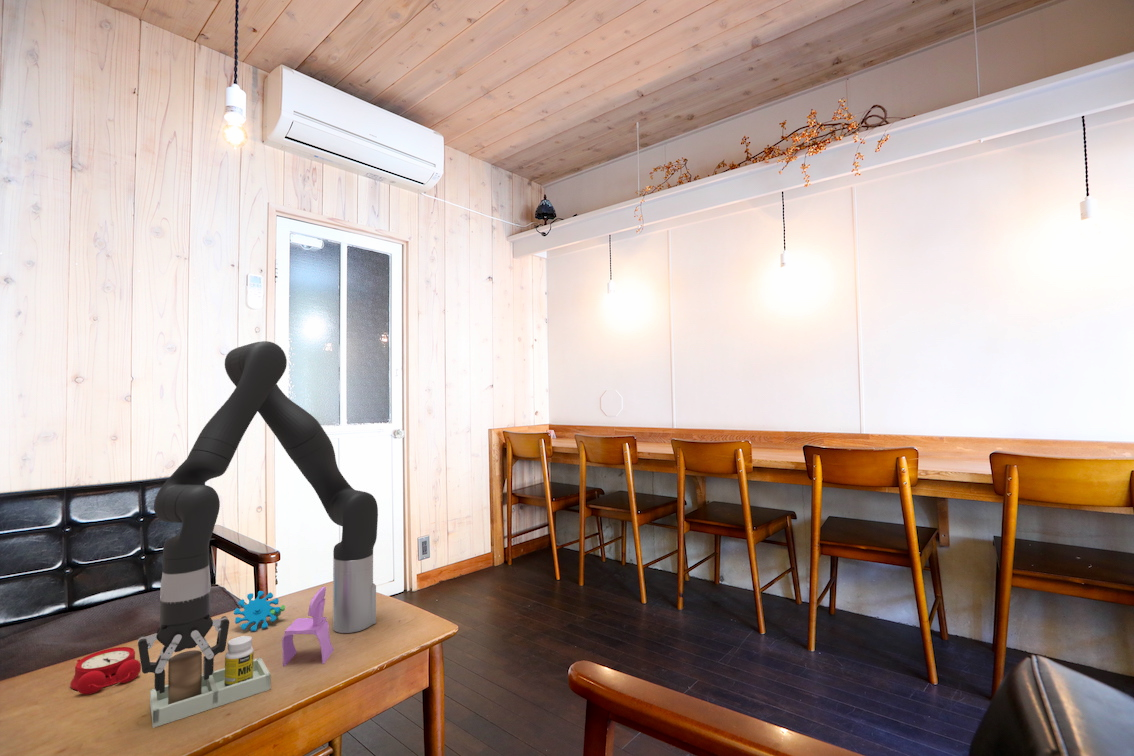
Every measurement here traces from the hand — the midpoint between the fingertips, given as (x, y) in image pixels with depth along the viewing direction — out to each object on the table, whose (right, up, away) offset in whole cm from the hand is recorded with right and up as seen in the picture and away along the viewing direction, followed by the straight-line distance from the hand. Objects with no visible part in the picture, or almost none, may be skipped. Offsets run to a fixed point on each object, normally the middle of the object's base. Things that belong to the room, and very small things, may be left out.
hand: (184, 684), depth 97 cm
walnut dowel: (0, -3, 0) cm, 3 cm away
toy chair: (+14, -5, +17) cm, 23 cm away
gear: (-6, -5, +34) cm, 35 cm away
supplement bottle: (+7, -3, +6) cm, 9 cm away
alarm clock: (-22, -5, +9) cm, 25 cm away
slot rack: (+3, -4, +3) cm, 6 cm away
